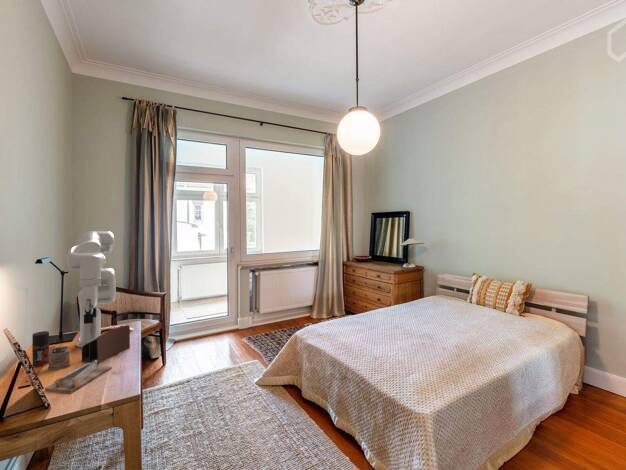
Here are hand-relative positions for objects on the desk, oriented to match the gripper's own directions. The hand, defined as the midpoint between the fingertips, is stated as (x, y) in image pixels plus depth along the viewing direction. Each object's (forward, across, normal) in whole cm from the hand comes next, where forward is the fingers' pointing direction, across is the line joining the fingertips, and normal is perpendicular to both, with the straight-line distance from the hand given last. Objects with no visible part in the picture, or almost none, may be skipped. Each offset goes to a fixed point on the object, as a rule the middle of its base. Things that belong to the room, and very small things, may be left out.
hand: (90, 320), depth 134 cm
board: (+26, 0, -3) cm, 26 cm away
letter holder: (+25, -24, +4) cm, 35 cm away
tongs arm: (+24, +2, -2) cm, 25 cm away
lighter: (+25, -17, -14) cm, 34 cm away
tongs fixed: (+25, -1, -4) cm, 25 cm away
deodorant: (+25, -25, -22) cm, 42 cm away
